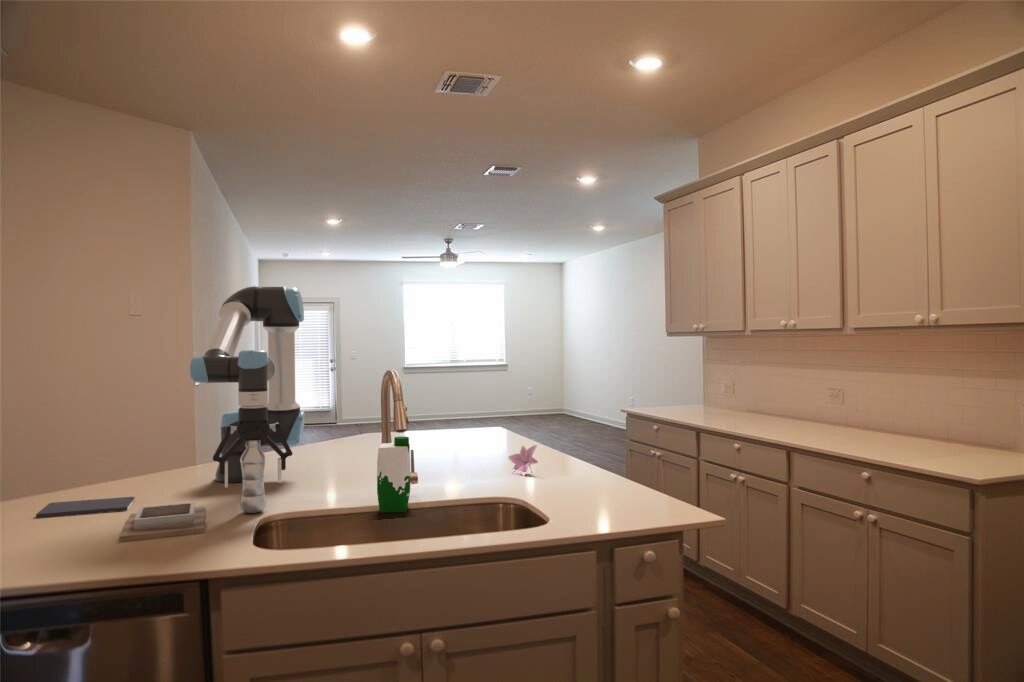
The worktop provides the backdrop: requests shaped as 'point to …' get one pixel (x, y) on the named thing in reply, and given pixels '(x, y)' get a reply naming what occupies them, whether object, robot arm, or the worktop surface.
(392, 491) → the milk carton
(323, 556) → the worktop surface
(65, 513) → the notebook
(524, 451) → the lily
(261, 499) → the plastic bottle
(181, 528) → the bottle stand
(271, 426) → the robot arm
